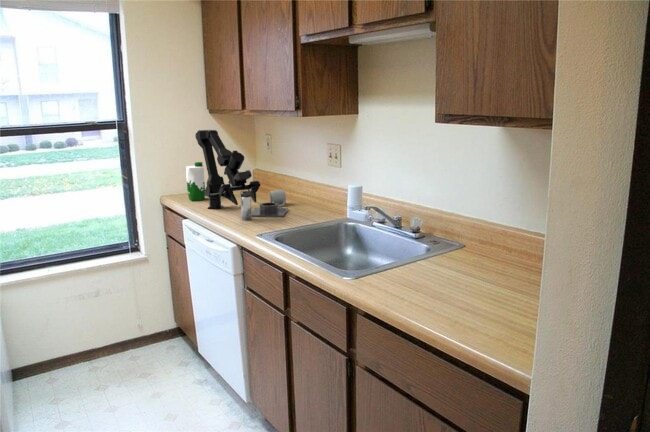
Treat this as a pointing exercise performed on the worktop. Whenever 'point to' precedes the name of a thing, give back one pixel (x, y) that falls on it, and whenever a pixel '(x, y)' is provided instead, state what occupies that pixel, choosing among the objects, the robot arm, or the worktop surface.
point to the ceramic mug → (277, 197)
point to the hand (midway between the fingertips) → (246, 203)
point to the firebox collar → (269, 210)
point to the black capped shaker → (246, 205)
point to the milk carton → (195, 182)
